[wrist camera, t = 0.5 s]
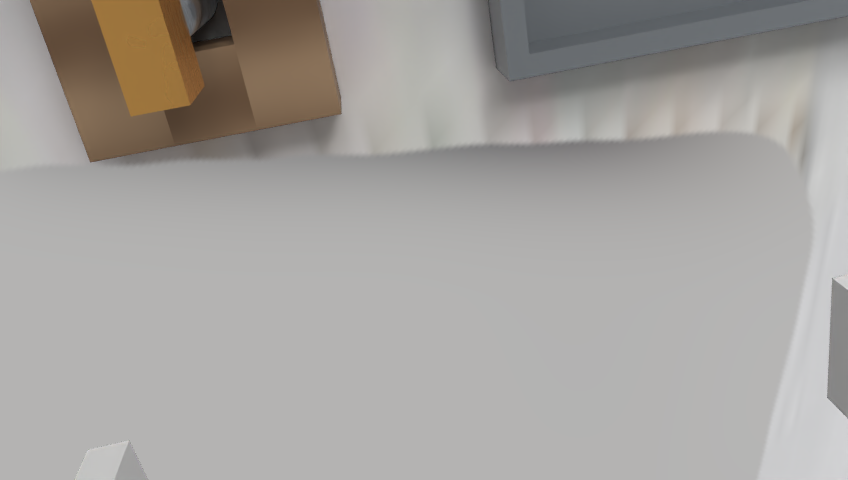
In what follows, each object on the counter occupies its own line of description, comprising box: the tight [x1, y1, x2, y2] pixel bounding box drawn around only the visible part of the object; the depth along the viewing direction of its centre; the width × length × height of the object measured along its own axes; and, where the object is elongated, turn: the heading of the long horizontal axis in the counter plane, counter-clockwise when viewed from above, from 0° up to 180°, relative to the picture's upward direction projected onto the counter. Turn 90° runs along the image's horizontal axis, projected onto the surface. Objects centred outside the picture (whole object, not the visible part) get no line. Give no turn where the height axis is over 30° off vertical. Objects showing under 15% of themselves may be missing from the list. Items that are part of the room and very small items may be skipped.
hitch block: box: [30, 0, 341, 162], centre depth 32 cm, size 11×11×3 cm
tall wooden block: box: [91, 0, 217, 116], centre depth 28 cm, size 5×2×10 cm, turn 10°
